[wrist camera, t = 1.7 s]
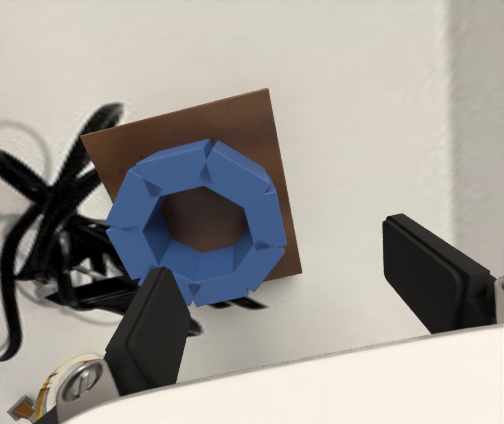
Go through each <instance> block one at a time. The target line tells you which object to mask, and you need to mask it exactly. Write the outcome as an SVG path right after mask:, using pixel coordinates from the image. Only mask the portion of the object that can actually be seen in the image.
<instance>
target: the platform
mask: <svg viewBox="0 0 504 424" xmlns="http://www.w3.org/2000/svg"><path fill="white" fill-rule="evenodd" d="M80 138H81V140H82V142H83V144H84V146H85V148H86V150H87V152H88V154H89V156H90V158H91V160H92V162H93V164H94V166H95V168H96V170H97V172H98V174H99V176H100V178H101V180H102V182H103V184H104V186H105V188H106V190H107V192H108V194H109V196H110V198H111V200H112V202H113V204H114V201H115V199H116V197H117V195H118V192H119V190H120V188H121V185H122V183H123V181H124V179H125V176H126V174H127V172H128V170H129V169H131V168H133V167H134V166H136V164H137V163H138V162H140V161H142V160H143V159H145V158H147V157H149V156H150V155H152V154H154V153H155V152H158V151H162V150H166V149H170V148H174V147H178V146H182V145H186V144H190V143H194V142H198V141H202V140H206V139H210V140H211V144H212V147H214V146H215V144H216V142H217V141H218V140H219V141H221V142H222V143H224V144H226V145H227V146H229V147H231V148H232V149H234V150H235V151H237V152H239V153H240V154H242V155H244V156H245V157H247V158H248V159H250V160H252V161H253V162H255V163H257V164H258V165H260V166H262V167H263V168H265V170H266V173H267V175H269V176H270V178H271V180H272V182H273V185H274V187H275V190H276V192H277V197H278V202H279V207H280V212H281V217H282V222H283V227H284V231H285V236H286V241H287V245H285V246H283V247H284V250H285V253H284V255H283V256H282V257H281V258H280V260H279V261H278V262H277V264H276V265H275V266H274V267H273V269H272V270H271V271H270V273H269V274H268V275H267V277H266V278H265V279H264V280H263V282H264V281H269V280H273V279H278V278H283V277H287V276H292V275H296V274H301V273H302V268H301V263H300V257H299V252H298V246H297V241H296V236H295V230H294V225H293V219H292V214H291V208H290V203H289V198H288V192H287V187H286V181H285V176H284V170H283V165H282V160H281V154H280V149H279V143H278V138H277V132H276V127H275V122H274V116H273V111H272V105H271V100H270V94H269V89H268V88H265V89H261V90H257V91H253V92H249V93H245V94H241V95H237V96H233V97H230V98H226V99H222V100H218V101H214V102H210V103H206V104H202V105H198V106H195V107H191V108H187V109H183V110H179V111H175V112H171V113H167V114H163V115H159V116H156V117H152V118H148V119H144V120H140V121H136V122H132V123H128V124H124V125H120V126H117V127H113V128H109V129H105V130H101V131H97V132H93V133H89V134H85V135H82V136H80ZM160 211H161V213H162V215H163V218H164V220H165V223H166V225H167V227H168V230H169V232H170V234H171V237H172V239H174V240H176V241H178V242H180V243H182V244H185V245H187V246H189V247H191V248H193V249H195V250H197V251H199V252H201V253H204V252H209V251H213V250H217V249H222V248H226V247H231V246H234V245H235V243H236V242H237V240H238V239H239V238H240V236H241V235H242V233H243V232H244V230H245V229H246V227H247V226H248V223H247V219H246V215H245V211H244V208H243V207H241V206H239V205H238V204H236V203H234V202H232V201H230V200H229V199H227V198H225V197H223V196H221V195H220V194H218V193H216V192H214V191H212V190H210V189H209V188H207V187H205V186H202V187H198V188H194V189H190V190H185V191H181V192H177V193H173V194H169V195H167V196H166V198H165V200H164V202H163V204H162V206H161V207H160Z"/></svg>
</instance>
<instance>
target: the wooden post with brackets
mask: <svg viewBox="0 0 504 424" xmlns="http://www.w3.org/2000/svg"><path fill="white" fill-rule="evenodd" d="M32 406H33V404H32V403H31V402H30V400H29V399H28V398H27V397H26V396H25V395H24V396H23V397H22V398H21V399H20V400H19V401H18V402H17V403H16V404H14V405H13V406H12V407H11V408H10V409H9V410H8V411H7V413H8V414H9V415H10V416H11V417H12V418H13V419H14V420H15V421H18V420H19V419H20V418H25V419H28V420H29V421H30V422H31V423H32V424H33V423H34V422H36V420H35V410H34V409H33V408H32Z"/></svg>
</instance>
